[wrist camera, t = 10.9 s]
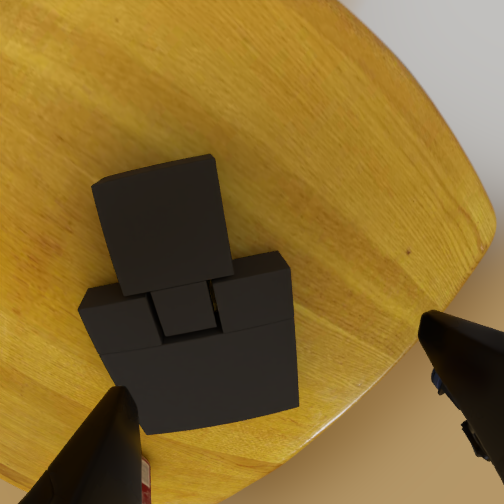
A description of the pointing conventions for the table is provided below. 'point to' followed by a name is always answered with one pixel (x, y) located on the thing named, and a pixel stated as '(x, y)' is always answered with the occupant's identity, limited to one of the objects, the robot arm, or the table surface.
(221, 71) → the table surface
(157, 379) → the large pad
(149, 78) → the table surface
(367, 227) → the table surface
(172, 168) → the dark grey tabbed block
